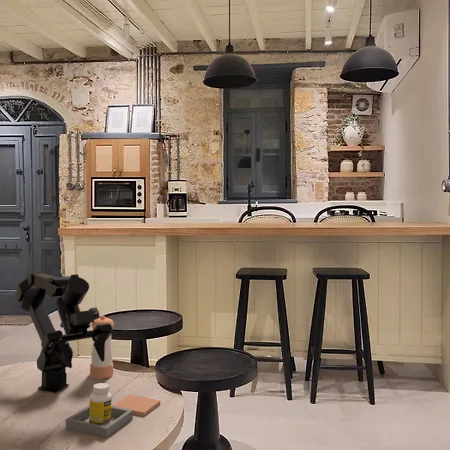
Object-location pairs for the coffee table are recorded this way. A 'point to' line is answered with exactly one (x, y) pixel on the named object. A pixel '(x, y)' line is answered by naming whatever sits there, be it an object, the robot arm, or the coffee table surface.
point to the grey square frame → (95, 429)
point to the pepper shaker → (105, 367)
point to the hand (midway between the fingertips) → (87, 364)
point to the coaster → (138, 404)
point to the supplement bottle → (100, 405)
